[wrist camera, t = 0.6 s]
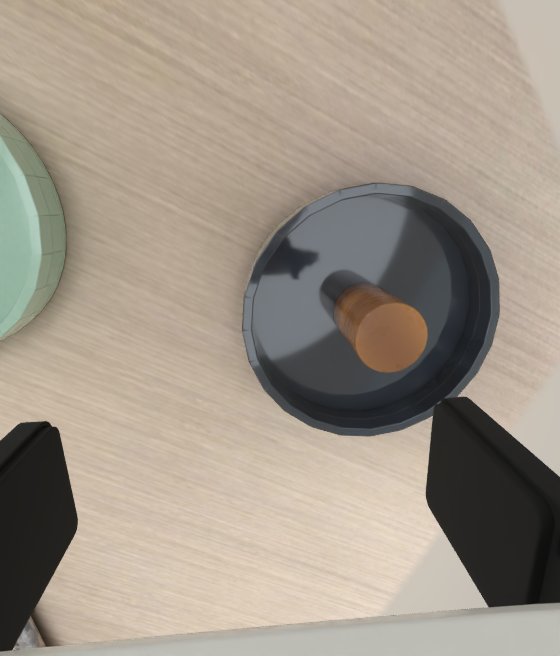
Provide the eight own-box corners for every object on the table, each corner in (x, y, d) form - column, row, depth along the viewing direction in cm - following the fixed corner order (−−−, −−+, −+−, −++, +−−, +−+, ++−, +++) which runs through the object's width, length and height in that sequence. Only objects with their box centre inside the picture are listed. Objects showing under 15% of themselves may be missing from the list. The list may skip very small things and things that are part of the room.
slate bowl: (430, 141, 25) (455, 132, 22) (499, 357, 30) (527, 374, 26) (200, 254, 26) (194, 260, 23) (302, 445, 31) (308, 472, 27)
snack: (378, 272, 26) (413, 289, 21) (398, 324, 28) (437, 354, 22) (324, 298, 27) (344, 322, 21) (346, 348, 28) (371, 384, 22)
